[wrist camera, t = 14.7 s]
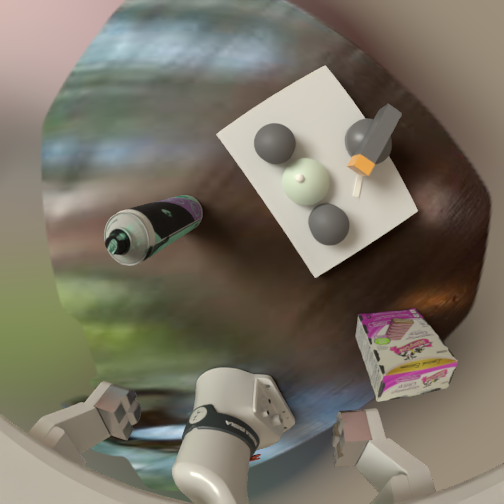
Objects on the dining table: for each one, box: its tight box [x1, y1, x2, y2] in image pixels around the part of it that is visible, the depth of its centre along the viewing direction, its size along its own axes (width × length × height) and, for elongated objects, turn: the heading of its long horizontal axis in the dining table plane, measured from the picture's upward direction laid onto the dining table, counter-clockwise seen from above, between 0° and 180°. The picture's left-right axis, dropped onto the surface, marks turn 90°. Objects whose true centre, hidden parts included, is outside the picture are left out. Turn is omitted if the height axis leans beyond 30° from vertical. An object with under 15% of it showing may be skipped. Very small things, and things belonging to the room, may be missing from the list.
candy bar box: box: [355, 308, 458, 402], centre depth 35 cm, size 11×5×16 cm, turn 95°
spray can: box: [104, 195, 203, 266], centre depth 32 cm, size 6×6×20 cm
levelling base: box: [216, 66, 418, 278], centre depth 35 cm, size 24×18×6 cm
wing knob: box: [345, 104, 402, 176], centre depth 30 cm, size 9×6×6 cm, turn 151°
